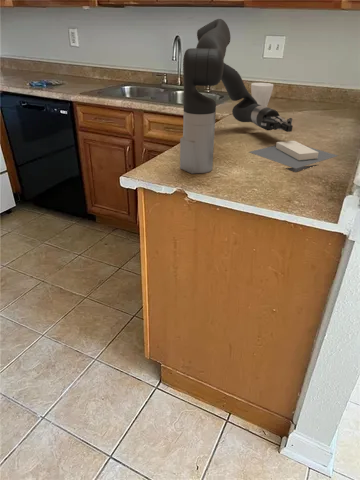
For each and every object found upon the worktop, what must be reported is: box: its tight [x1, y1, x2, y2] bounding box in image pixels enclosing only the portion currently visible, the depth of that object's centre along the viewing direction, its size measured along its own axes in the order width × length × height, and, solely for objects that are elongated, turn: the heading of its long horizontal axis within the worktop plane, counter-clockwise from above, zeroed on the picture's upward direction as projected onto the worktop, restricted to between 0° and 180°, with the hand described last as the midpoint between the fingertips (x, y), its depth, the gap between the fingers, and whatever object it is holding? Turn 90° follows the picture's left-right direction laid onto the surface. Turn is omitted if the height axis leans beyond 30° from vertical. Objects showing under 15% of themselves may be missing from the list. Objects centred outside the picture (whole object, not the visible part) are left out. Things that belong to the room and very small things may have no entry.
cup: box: [250, 82, 274, 107], centre depth 184 cm, size 10×10×14 cm
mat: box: [249, 144, 339, 173], centre depth 128 cm, size 22×20×1 cm
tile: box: [275, 140, 319, 161], centre depth 127 cm, size 2×7×14 cm
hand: (290, 128), depth 128 cm, fingers closed
